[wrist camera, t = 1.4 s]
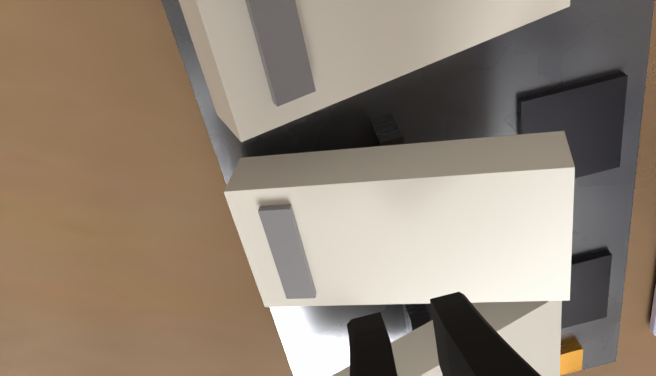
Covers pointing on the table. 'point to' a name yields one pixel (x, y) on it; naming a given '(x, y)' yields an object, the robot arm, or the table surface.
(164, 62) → the table surface
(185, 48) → the grey slab
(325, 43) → the rocker
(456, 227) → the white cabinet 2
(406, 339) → the white rectangular block
